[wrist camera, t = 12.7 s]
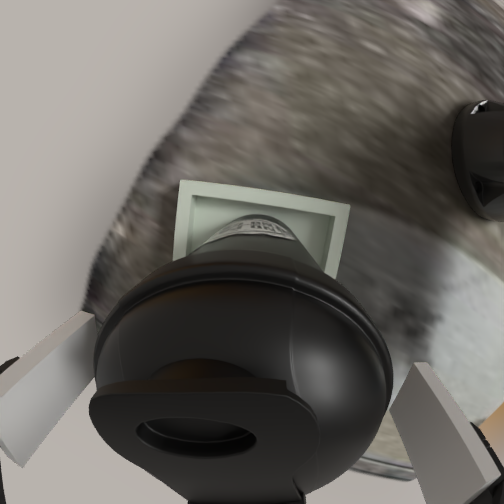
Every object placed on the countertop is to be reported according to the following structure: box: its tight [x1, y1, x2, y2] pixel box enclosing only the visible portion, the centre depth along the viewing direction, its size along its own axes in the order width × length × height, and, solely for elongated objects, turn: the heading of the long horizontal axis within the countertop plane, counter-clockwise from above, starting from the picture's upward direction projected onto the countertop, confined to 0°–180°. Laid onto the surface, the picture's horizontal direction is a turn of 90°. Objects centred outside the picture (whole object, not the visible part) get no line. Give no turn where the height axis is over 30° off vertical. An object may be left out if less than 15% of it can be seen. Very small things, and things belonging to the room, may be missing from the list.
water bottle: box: [89, 214, 393, 504], centre depth 16 cm, size 10×10×23 cm
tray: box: [173, 180, 351, 279], centre depth 28 cm, size 22×15×3 cm
